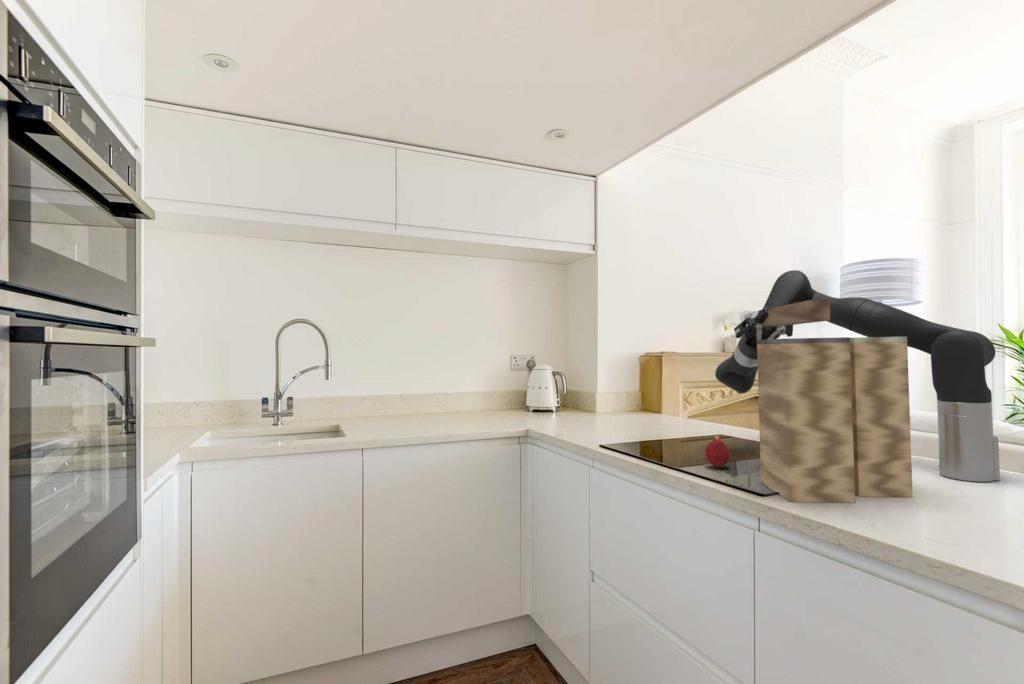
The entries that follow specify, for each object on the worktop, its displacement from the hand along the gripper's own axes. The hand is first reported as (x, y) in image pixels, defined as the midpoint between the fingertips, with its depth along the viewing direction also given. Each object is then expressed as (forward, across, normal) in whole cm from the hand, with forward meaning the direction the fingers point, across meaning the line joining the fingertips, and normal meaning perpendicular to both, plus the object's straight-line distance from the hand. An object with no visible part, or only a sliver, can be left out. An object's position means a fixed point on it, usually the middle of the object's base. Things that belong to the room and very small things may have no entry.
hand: (776, 310), depth 114 cm
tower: (-14, +14, +37) cm, 42 cm away
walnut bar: (+4, 0, +6) cm, 8 cm away
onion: (-29, -11, +28) cm, 42 cm away
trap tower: (-10, 0, +39) cm, 40 cm away
